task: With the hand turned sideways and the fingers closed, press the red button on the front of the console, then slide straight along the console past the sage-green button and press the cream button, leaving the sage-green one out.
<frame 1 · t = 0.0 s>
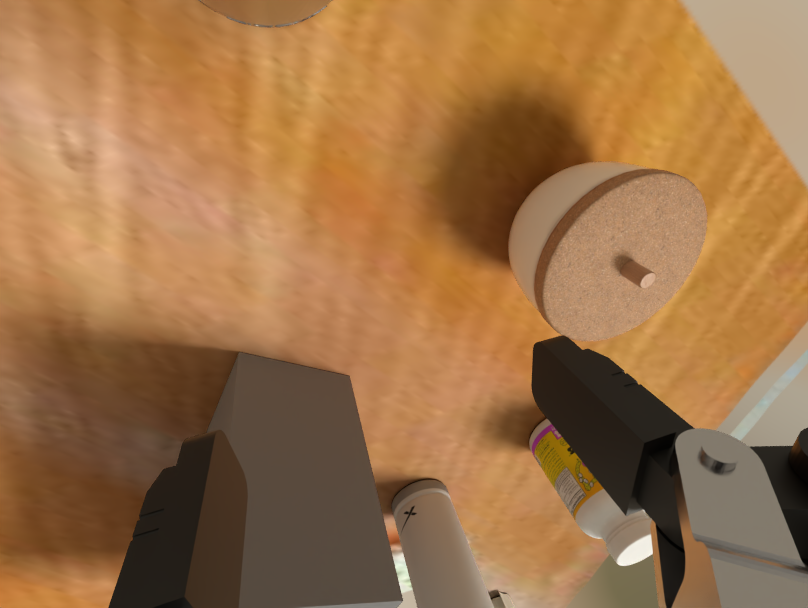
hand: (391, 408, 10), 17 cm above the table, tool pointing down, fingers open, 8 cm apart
lidded jar: (549, 220, 30), on the table
paper towel roll: (495, 600, 65), on the table
console: (249, 471, 34), on the table
travel mug: (416, 496, 44), on the table
supplement bottle: (552, 429, 44), on the table
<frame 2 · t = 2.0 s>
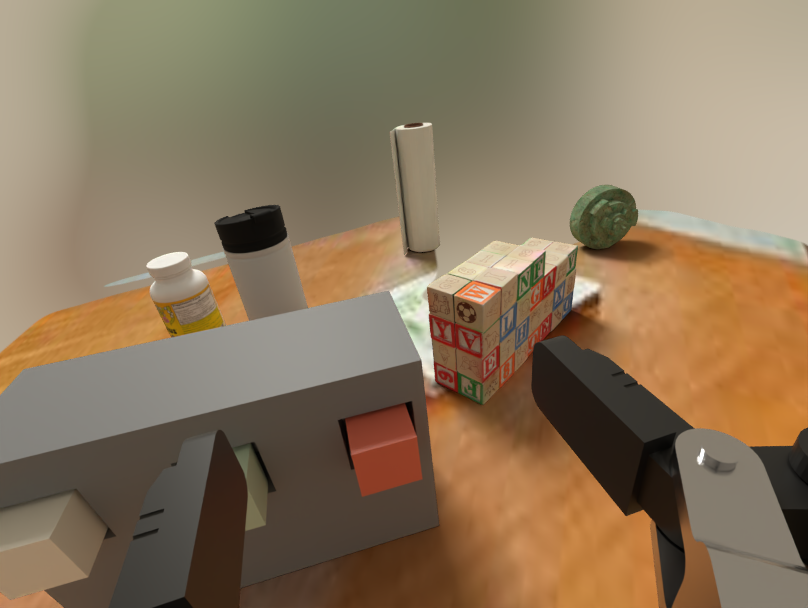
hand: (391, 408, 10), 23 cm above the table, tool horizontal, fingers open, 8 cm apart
red button: (383, 448, 24), point 11 cm above the table, slide at 0.0 cm
decorative artifact: (606, 251, 67), on the table
paper towel roll: (421, 247, 76), on the table
cream button: (44, 542, 21), point 11 cm above the table, slide at 0.0 cm
console: (279, 517, 32), on the table
travel mug: (298, 372, 48), on the table
stack of blocks: (509, 345, 49), on the table
green button: (224, 492, 22), point 11 cm above the table, slide at 0.0 cm
supplement bottle: (205, 345, 55), on the table
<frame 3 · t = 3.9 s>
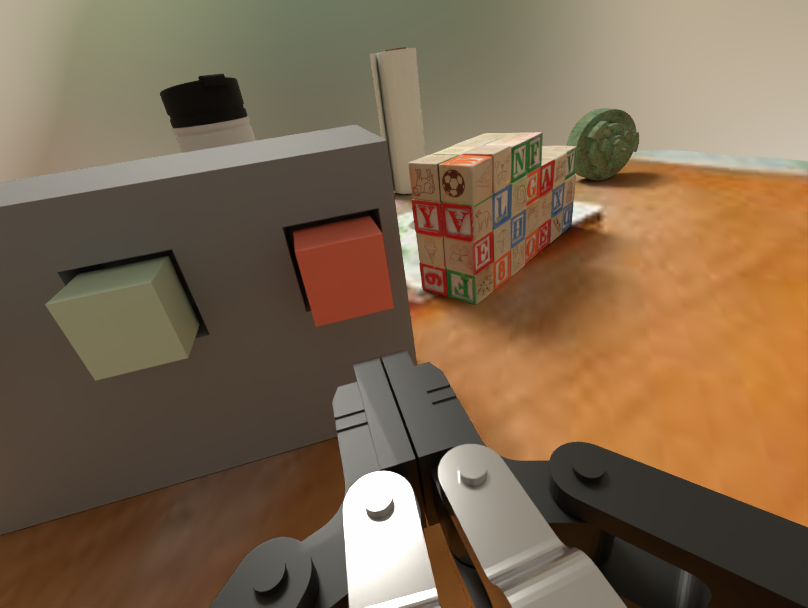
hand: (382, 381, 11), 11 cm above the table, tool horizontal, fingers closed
red button: (343, 269, 18), point 11 cm above the table, slide at 0.0 cm
decorative artifact: (605, 182, 62), on the table
paper towel roll: (408, 192, 72), on the table
console: (233, 415, 27), on the table
travel mug: (268, 293, 43), on the table
stack of blocks: (504, 257, 44), on the table
green button: (133, 316, 17), point 11 cm above the table, slide at 0.0 cm
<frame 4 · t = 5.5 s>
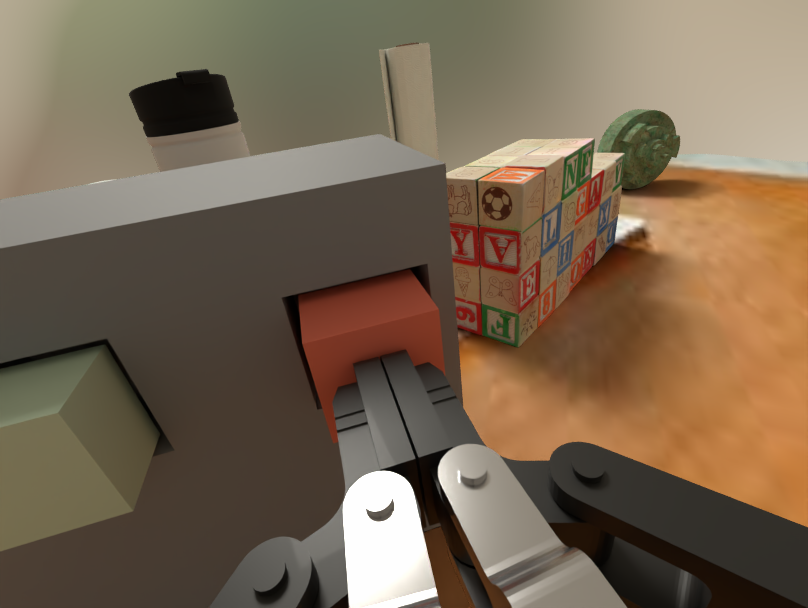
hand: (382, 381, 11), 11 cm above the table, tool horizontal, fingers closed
red button: (373, 351, 12), point 11 cm above the table, slide at 0.3 cm, touching gripper
decorative artifact: (640, 191, 56), on the table
paper towel roll: (420, 201, 65), on the table
console: (219, 512, 21), on the table
travel mug: (266, 327, 37), on the table
stack of blocks: (542, 282, 38), on the table
green button: (45, 445, 11), point 11 cm above the table, slide at 0.0 cm
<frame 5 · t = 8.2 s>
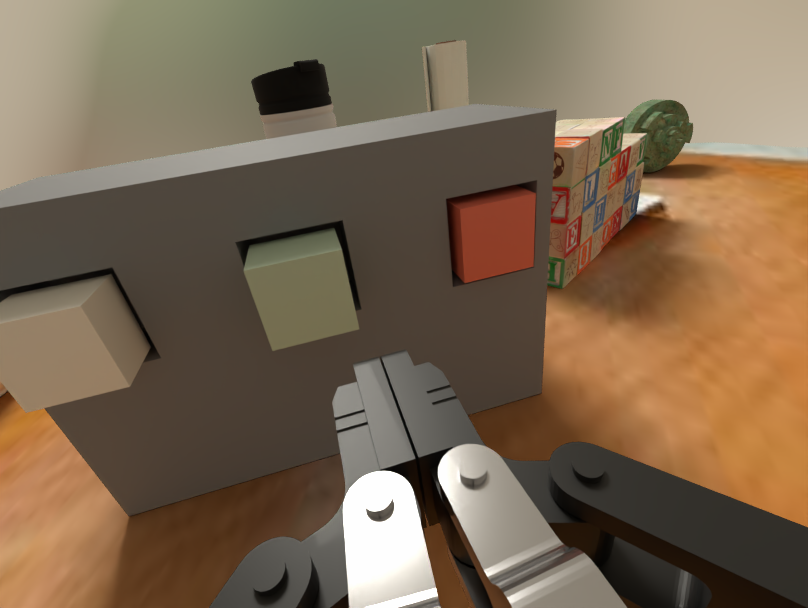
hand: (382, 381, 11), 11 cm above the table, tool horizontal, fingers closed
red button: (486, 230, 20), point 11 cm above the table, slide at 1.7 cm
decorative artifact: (656, 174, 62), on the table
paper towel roll: (452, 186, 71), on the table
cream button: (70, 340, 15), point 11 cm above the table, slide at 0.0 cm
console: (342, 398, 27), on the table
travel mug: (338, 282, 43), on the table
stack of blocks: (575, 244, 44), on the table
green button: (304, 287, 17), point 11 cm above the table, slide at 0.0 cm
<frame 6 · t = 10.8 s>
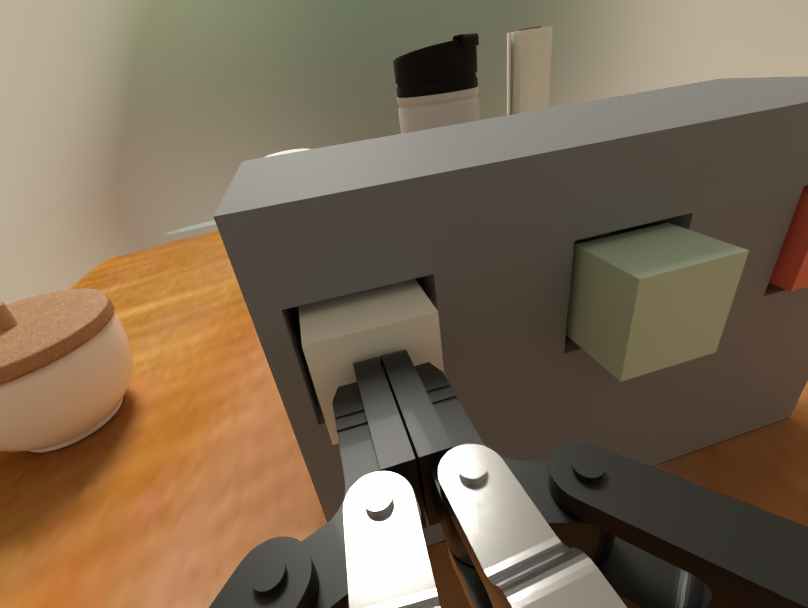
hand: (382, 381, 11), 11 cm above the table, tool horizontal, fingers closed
red button: (804, 226, 16), point 11 cm above the table, slide at 1.7 cm
lidded jar: (77, 420, 29), on the table
paper towel roll: (522, 182, 68), on the table
cream button: (372, 353, 12), point 11 cm above the table, slide at 0.9 cm, touching gripper
console: (540, 421, 23), on the table
travel mug: (453, 285, 39), on the table
green button: (645, 298, 13), point 11 cm above the table, slide at 0.0 cm
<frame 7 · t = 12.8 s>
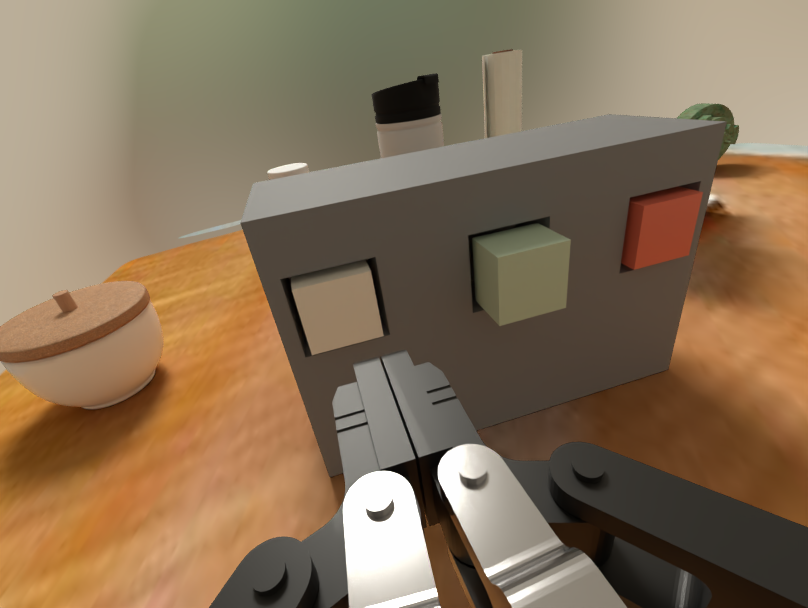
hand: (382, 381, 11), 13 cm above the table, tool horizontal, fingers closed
red button: (647, 224, 23), point 11 cm above the table, slide at 1.7 cm
decorative artifact: (702, 174, 65), on the table
lidded jar: (119, 386, 36), on the table
paper towel roll: (501, 187, 75), on the table
cream button: (337, 301, 20), point 11 cm above the table, slide at 1.8 cm
console: (482, 377, 30), on the table
travel mug: (428, 278, 46), on the table
green button: (518, 272, 20), point 11 cm above the table, slide at 0.0 cm
supplement bottle: (314, 268, 53), on the table
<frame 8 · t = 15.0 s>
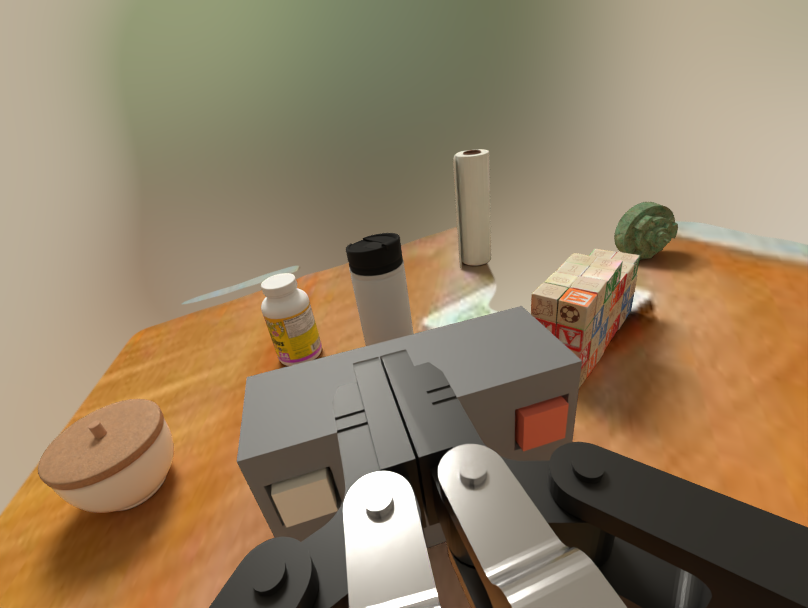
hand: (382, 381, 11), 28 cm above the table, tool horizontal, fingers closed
red button: (535, 415, 31), point 11 cm above the table, slide at 1.7 cm
decorative artifact: (648, 261, 74), on the table
lidded jar: (137, 486, 44), on the table
paper towel roll: (473, 261, 83), on the table
cream button: (304, 486, 28), point 11 cm above the table, slide at 1.8 cm
console: (425, 497, 39), on the table
travel mug: (396, 377, 55), on the table
stack of blocks: (583, 342, 56), on the table
supplement bottle: (301, 355, 62), on the table
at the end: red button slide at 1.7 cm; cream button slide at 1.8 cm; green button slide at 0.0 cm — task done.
